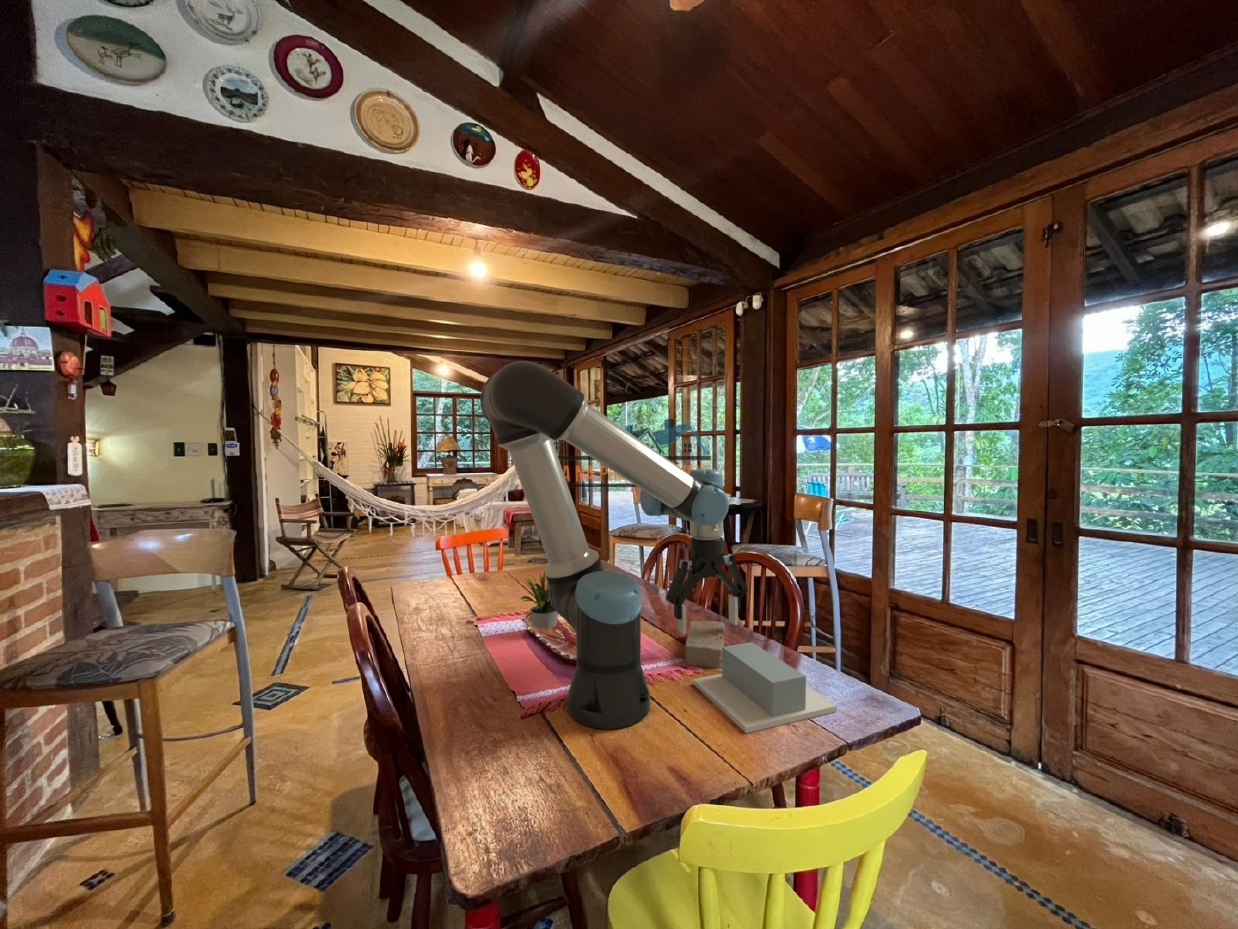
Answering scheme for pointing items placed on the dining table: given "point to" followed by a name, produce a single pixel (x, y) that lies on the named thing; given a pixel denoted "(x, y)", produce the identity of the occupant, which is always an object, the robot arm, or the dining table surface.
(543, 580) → the house plant
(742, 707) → the tower base
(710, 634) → the brick
